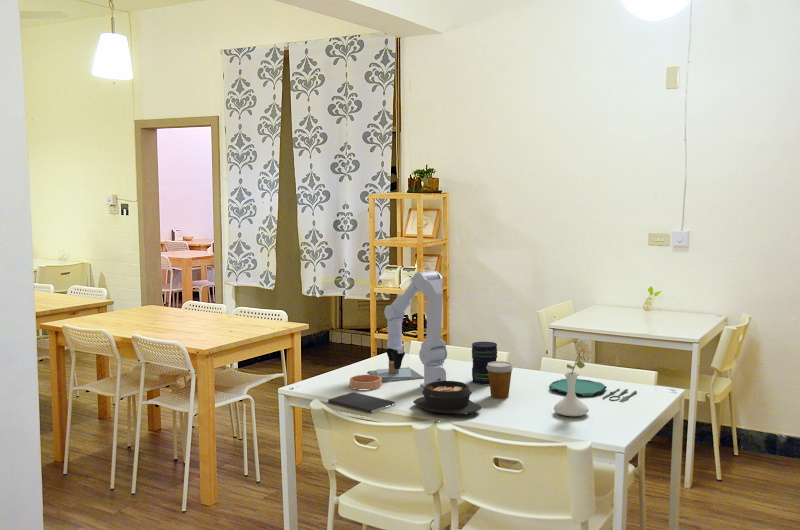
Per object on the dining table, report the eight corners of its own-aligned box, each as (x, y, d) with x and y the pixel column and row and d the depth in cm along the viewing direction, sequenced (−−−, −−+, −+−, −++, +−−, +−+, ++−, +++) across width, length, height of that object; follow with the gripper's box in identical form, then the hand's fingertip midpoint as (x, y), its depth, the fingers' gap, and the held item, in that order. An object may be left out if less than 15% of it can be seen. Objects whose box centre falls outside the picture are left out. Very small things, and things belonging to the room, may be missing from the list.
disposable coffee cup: (497, 391, 276) (497, 359, 275) (518, 396, 270) (518, 363, 268) (481, 396, 270) (480, 364, 269) (502, 401, 263) (502, 368, 262)
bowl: (385, 388, 283) (385, 380, 283) (355, 391, 279) (355, 383, 279) (376, 381, 294) (376, 373, 294) (346, 384, 290) (346, 376, 290)
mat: (423, 378, 298) (423, 377, 297) (381, 382, 292) (380, 381, 292) (408, 368, 314) (408, 367, 314) (367, 372, 309) (367, 371, 309)
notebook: (328, 403, 266) (371, 414, 252) (328, 399, 266) (371, 410, 252) (353, 396, 275) (396, 406, 261) (353, 391, 275) (396, 402, 261)
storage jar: (490, 377, 297) (490, 340, 296) (501, 383, 288) (501, 345, 286) (467, 379, 294) (467, 342, 292) (478, 386, 285) (477, 347, 283)
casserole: (401, 409, 256) (401, 385, 255) (435, 397, 270) (435, 375, 269) (459, 423, 239) (459, 398, 238) (492, 410, 253) (492, 386, 252)
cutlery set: (564, 380, 291) (564, 375, 291) (640, 394, 273) (640, 387, 272) (540, 392, 275) (541, 386, 275) (619, 407, 257) (619, 401, 257)
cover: (411, 378, 296) (411, 365, 296) (376, 378, 296) (376, 366, 295) (410, 369, 310) (410, 357, 310) (376, 370, 310) (376, 358, 309)
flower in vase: (567, 421, 240) (567, 344, 237) (546, 411, 250) (547, 338, 248) (600, 415, 245) (600, 341, 243) (578, 406, 255) (579, 335, 253)
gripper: (410, 336, 296) (410, 370, 297) (398, 330, 310) (398, 362, 311) (393, 338, 294) (393, 372, 295) (382, 331, 307) (382, 364, 309)
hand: (395, 367), depth 303 cm, fingers open, 5 cm apart
